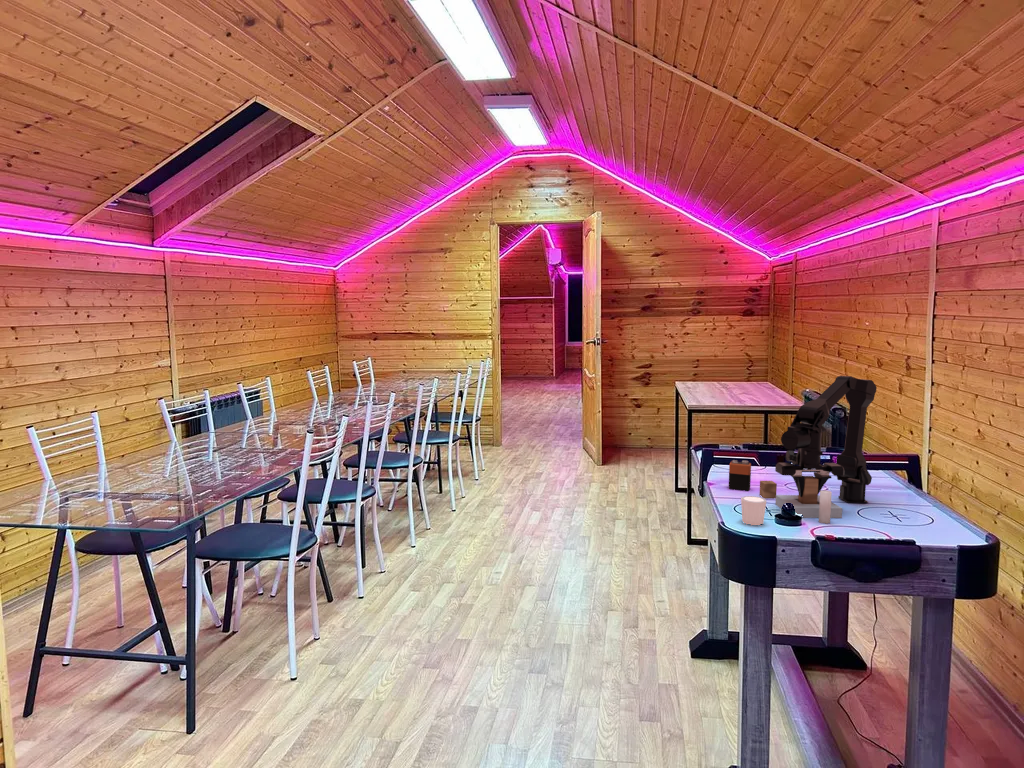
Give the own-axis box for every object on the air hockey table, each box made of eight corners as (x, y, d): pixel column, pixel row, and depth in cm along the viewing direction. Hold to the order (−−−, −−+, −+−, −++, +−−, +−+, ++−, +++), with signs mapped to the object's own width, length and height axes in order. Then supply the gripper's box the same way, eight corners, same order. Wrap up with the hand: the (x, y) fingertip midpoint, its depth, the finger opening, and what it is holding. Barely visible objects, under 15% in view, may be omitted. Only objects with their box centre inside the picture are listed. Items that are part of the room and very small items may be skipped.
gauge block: (819, 504, 203) (821, 476, 202) (851, 523, 183) (852, 493, 182) (775, 504, 203) (776, 476, 202) (802, 523, 183) (803, 492, 183)
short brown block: (771, 495, 214) (772, 480, 213) (776, 498, 210) (776, 483, 209) (759, 495, 214) (760, 480, 213) (763, 498, 210) (764, 483, 209)
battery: (749, 491, 218) (750, 462, 217) (728, 489, 221) (729, 460, 220) (750, 488, 222) (751, 460, 221) (729, 486, 225) (730, 458, 224)
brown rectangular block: (817, 508, 194) (818, 479, 193) (803, 508, 194) (805, 479, 193) (811, 504, 198) (812, 475, 197) (798, 504, 198) (799, 475, 197)
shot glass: (753, 527, 180) (754, 503, 179) (735, 521, 186) (735, 497, 185) (770, 524, 183) (771, 500, 182) (751, 517, 189) (752, 494, 188)
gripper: (828, 441, 202) (826, 490, 203) (769, 441, 202) (767, 489, 204) (846, 448, 191) (843, 499, 192) (783, 448, 191) (781, 499, 192)
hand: (808, 496), depth 195 cm, fingers closed on brown rectangular block, 4 cm apart
